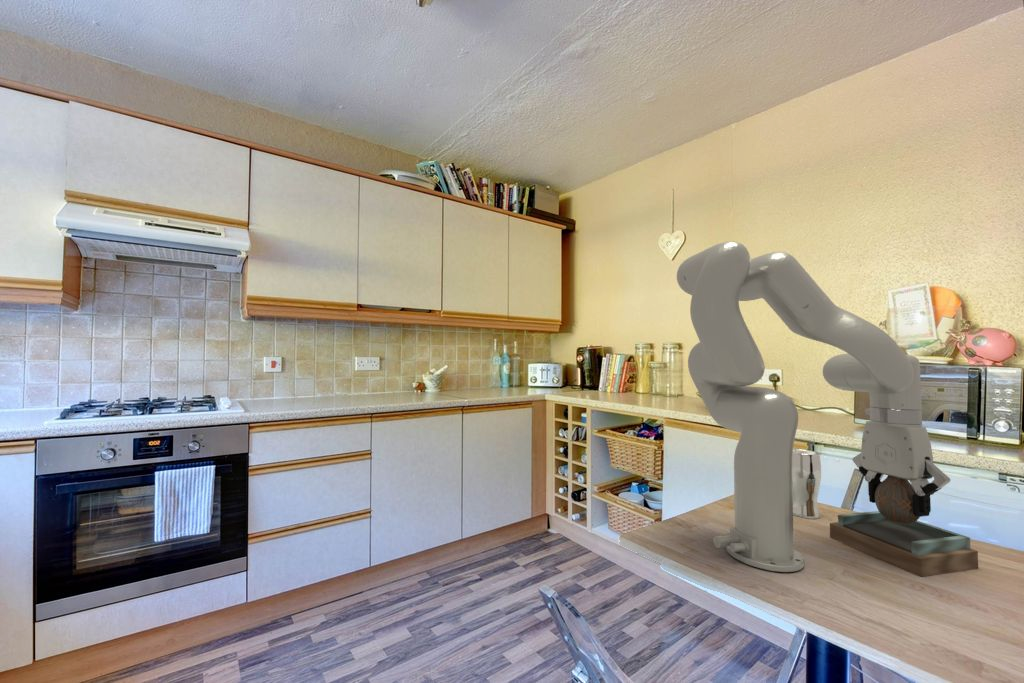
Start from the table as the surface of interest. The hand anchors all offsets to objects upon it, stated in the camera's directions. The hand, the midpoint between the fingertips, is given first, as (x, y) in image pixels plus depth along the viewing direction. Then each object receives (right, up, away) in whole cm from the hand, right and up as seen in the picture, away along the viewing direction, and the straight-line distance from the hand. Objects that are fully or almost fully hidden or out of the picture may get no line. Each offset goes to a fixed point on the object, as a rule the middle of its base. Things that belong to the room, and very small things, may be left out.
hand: (898, 507), depth 81 cm
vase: (0, -3, 0) cm, 3 cm away
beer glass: (-5, -9, +19) cm, 22 cm away
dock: (0, -8, 0) cm, 8 cm away
